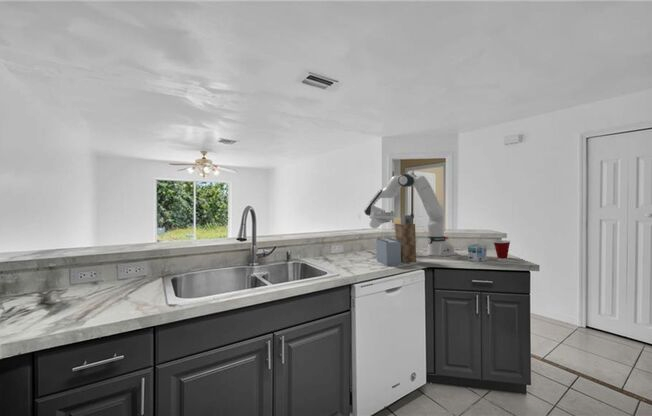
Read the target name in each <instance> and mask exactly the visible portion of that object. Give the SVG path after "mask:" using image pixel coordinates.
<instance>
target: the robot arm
mask: <svg viewBox="0 0 652 416" xmlns="http://www.w3.org/2000/svg"><path fill="white" fill-rule="evenodd" d="M402 187H403V188H410V187H414V188H415V190H416V192H417V194H418V196H419V198H420V200H421V203H422V205H423V208H424V210H425V212H426V215H427V216H428V225H427V230H428V231H427V232H428V233H427V234H428V235H427V243H428V244H427V245H428V246H427V251H426V255H429V256H435V257H436V256H438V257H439V256H440V257H445V256H446V257H447V256H455V255H457V256H458V252H457V251H455V248H454V246H453V245H452V244H451V243H450V242H448V241H447V240H449V236H444V217H445V215H444V213H445V211H444V207H443V206H442V205H441V204H440V202H439V201H438V198H437V196H436V193H435V192H434V189H433V188H432V187H433V186H431V183H430V182H429V181H428V178H426V177H425V176H424V175H418V176H417V174H414V173H409V172H406V173H402V174H400V175H393V176H392V177H391V178H390V180H389V181H388V182H387V184H386V186H385V187H384V188H382V189H380V190H378V191H377V193H376V194H375V195H374V196H373V197H372V199H371V200H370V201H369V202H368V204H366V206H365V207H364V210H363V211H364V214H365V215H366V216H369V219H371V220H370V221H369V226H370V227H371V229H377V228H380V226H381V225H383V224H386V223H390V222H391V221H392V220H393V218H397V217H396V216H397V214H396V213H395V211H394V210H391V211H390V212H388V211H387V212H386V211H385V209H382V208H380V207H378V206H375V205H376V204H377V202H379V200H380V199H393V198H394V197H396V196H397V195H398V193H399V191H400V190H401V188H402Z"/></svg>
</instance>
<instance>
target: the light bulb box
mask: <svg viewBox="0 0 652 416" xmlns="http://www.w3.org/2000/svg"><path fill="white" fill-rule="evenodd" d="M467 251H468V253H467V256H468V258H467V259H468V261H469V262H470V261H471V262H475V263H478V262H479V263H480V262H483V261H484V262H485V261H487V259H488V258H487V244H484V243H483V244H482V243H472V244H468V245H467Z"/></svg>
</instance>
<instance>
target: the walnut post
mask: <svg viewBox="0 0 652 416" xmlns="http://www.w3.org/2000/svg"><path fill="white" fill-rule="evenodd" d="M394 228H395V233H394V234H395V236H394V237H395V239H396V240H400V244H401V264H408V263H417V245H416V243H417V241H416V238H417V237H416V224H415V223H412V224H398V223H394Z"/></svg>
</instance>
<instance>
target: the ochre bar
mask: <svg viewBox="0 0 652 416" xmlns="http://www.w3.org/2000/svg"><path fill="white" fill-rule="evenodd" d="M412 218H413V217H412V215H410V214H403V215H400V217H395V218H393V219H392V220H393V223H394V224H413V222H412V221H413V219H412Z"/></svg>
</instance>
